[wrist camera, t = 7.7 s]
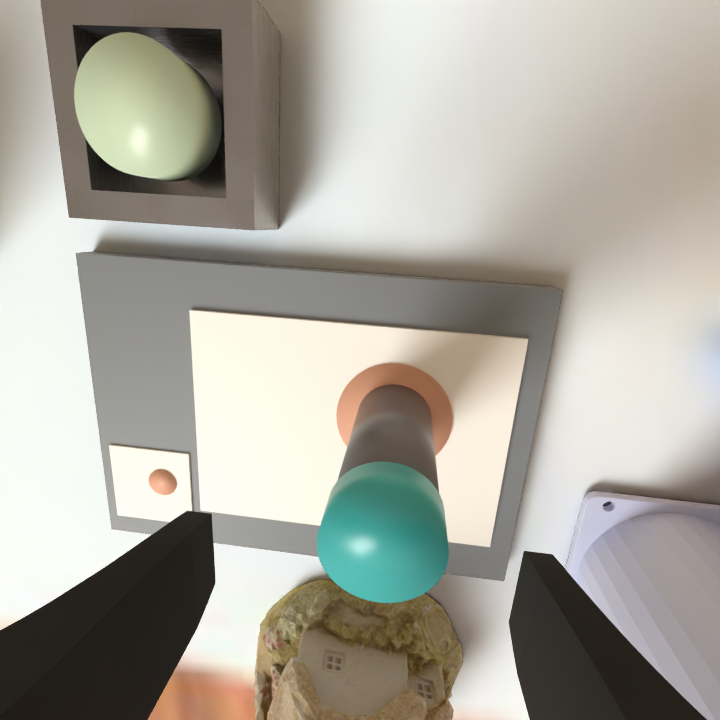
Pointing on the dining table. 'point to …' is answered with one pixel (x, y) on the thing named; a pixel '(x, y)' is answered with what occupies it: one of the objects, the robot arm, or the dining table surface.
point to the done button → (146, 109)
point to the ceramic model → (354, 658)
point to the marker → (386, 503)
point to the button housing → (230, 85)
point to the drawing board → (306, 392)
